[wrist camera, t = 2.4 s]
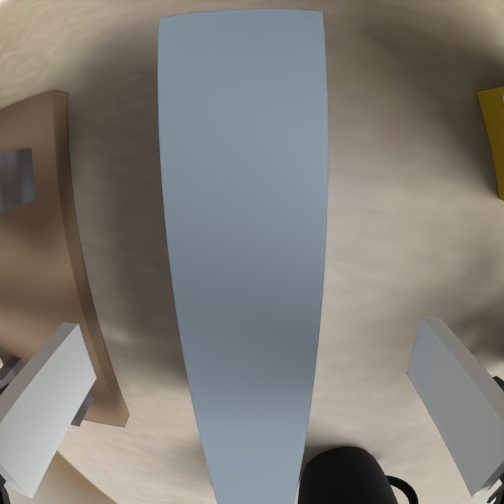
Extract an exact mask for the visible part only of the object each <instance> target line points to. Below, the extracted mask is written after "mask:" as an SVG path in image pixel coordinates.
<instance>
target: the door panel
mask: <svg viewBox="0 0 504 504" xmlns="http://www.w3.org/2000/svg"><path fill="white" fill-rule="evenodd" d="M158 117H159V143H160V162H161V178H162V191H163V204H164V215H165V226H166V236H167V245H168V254H169V263H170V271H171V279H172V286H173V294H174V301H175V308H176V314H177V321H178V327H179V333H180V340H181V345H182V351H183V357H184V363H185V368H186V373H187V379H188V384H189V389H190V394H191V399H192V404H193V408H194V413H195V418H196V422H197V427H198V431H199V435H200V440H201V444H202V448H203V452H204V456H205V460H206V464H207V468H208V472H209V476H210V479H211V483H212V487H213V490H214V494H215V497H216V501H217V504H294V501H295V496H296V491H297V486H298V481H299V475H300V470H301V464H302V458H303V453H304V447H305V441H306V434H307V428H308V421H309V414H310V407H311V400H312V392H313V385H314V377H315V368H316V359H317V350H318V341H319V331H320V320H321V308H322V296H323V282H324V267H325V250H326V229H327V201H328V98H327V71H326V52H325V36H324V23H323V11H312V10H295V9H238V10H221V11H209V12H199V13H190V14H182V15H175V16H168V17H162V18H159V31H158Z"/></svg>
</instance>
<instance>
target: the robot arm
mask: <svg viewBox="0 0 504 504" xmlns="http://www.w3.org/2000/svg"><path fill="white" fill-rule="evenodd" d="M407 375H408V377H409V378H410V380H411V382H412V383H413V385H414V387H415V389H416V390H417V392H418V394H419V396H420V398H421V399H422V401H423V403H424V405H425V406H426V408H427V410H428V412H429V414H430V416H431V417H432V419H433V421H434V423H435V425H436V427H437V428H438V430H439V432H440V434H441V436H442V438H443V440H444V442H445V444H446V446H447V448H448V449H449V451H450V453H451V455H452V457H453V459H454V461H455V463H456V465H457V467H458V469H459V471H460V473H461V475H462V477H463V480H464V482H465V484H466V486H467V488H468V490H469V492H470V494H471V497H474V496H476V495H478V494H480V493H482V492H485V491H487V490H489V489H490V488H491V487H492V486H493V485H494V484H495V483H496V482H497V480H498V479H499V478H500V480H501V482H502V485H501V486H500V487H499V488H498V489H497V490H496V491H495V492H494V493H493V494H492V495H491V496H490V497H489V499H488V501H487V503H490V502H491V501H492V500H493V499H494V498H495V497H496V496H497V497H496V500H495V502H494V503H493V504H504V381H503V380H502V379H500V378H499V377H497V376H495V377H491V375H490V374H489V373H488V372H487V371H486V369H485V368H484V367H483V366H482V365H481V364H480V362H479V361H478V360H477V359H476V358H475V357H474V355H473V354H472V353H471V352H470V351H469V350H468V348H467V347H466V346H465V345H464V344H463V343H462V342H461V341H460V339H459V338H458V337H457V336H456V335H455V334H454V333H453V332H452V331H451V329H450V328H449V327H448V326H447V325H446V324H445V323H444V322H443V321H442V320H441V319H440V318H439V317H438V315H437V316H429V317H421V322H420V326H419V330H418V334H417V338H416V342H415V346H414V350H413V353H412V357H411V360H410V364H409V367H408V371H407ZM95 380H96V375H95V372H94V370H93V367H92V364H91V361H90V358H89V355H88V352H87V349H86V346H85V343H84V340H83V337H82V333H81V330H80V327H79V324H77V323H65V322H63V323H62V325H61V326H60V327H59V328H58V329H57V330H56V331H55V332H54V333H53V334H52V335H51V337H50V338H49V339H48V340H47V341H46V342H45V343H44V344H43V345H42V347H41V348H40V349H39V350H38V351H37V352H36V353H35V355H34V356H33V357H32V358H31V359H30V360H29V361H28V363H27V364H26V365H25V366H24V367H23V369H22V370H21V371H20V372H19V373H18V374H17V376H16V377H15V378H14V379H13V380H12V382H11V383H10V384H7V385H5V386H4V387H2V388H1V389H0V504H10V500H9V496H8V493H7V490H6V489H5V487H4V484H5V482H6V481H7V483H8V484H9V485H10V486H11V487H12V488H13V489H14V490H15V491H17V492H19V493H21V494H23V495H25V496H28V497H29V498H33V496H34V494H35V492H36V490H37V488H38V486H39V484H40V481H41V479H42V477H43V475H44V473H45V471H46V469H47V467H48V465H49V464H50V462H51V459H52V458H53V456H54V454H55V452H56V450H57V448H58V446H59V444H60V442H61V440H62V439H63V437H64V435H65V433H66V431H67V429H68V427H69V426H70V424H71V422H72V420H73V418H74V417H75V415H76V413H77V411H78V409H79V408H80V406H81V404H82V402H83V401H84V399H85V397H86V395H87V394H88V392H89V390H90V388H91V387H92V385H93V383H94V382H95Z"/></svg>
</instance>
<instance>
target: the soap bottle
mask: <svg viewBox="0 0 504 504" xmlns="http://www.w3.org/2000/svg"><path fill="white" fill-rule="evenodd" d="M476 93H477V97H478V100H479V103H480V107H481V110H482V114H483V118H484V121H485V125H486V129H487V134H488V138H489V142H490V147H491V152H492V157H493V162H494V168H495V173H496V180H497V186H498V193H499V199H501V200H503V201H504V87H499V88H493V89H488V90H483V91H478V92H476Z"/></svg>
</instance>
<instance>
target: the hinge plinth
mask: <svg viewBox="0 0 504 504" xmlns="http://www.w3.org/2000/svg"><path fill="white" fill-rule="evenodd" d="M63 322H65V323H77V324H79V327H80V330H81V333H82V337H83V340H84V343H85V346H86V349H87V352H88V355H89V358H90V361H91V364H92V367H93V370H94V372H95V375H96V380H95V382H94V383H93V385H92V387H91V388H90V390H89V392H88V394H87V395H86V397H85V399H84V401H83V402H82V404H81V406H80V408H79V409H78V411H77V413H76V415H75V417H74V418H73V420H72V422H71V425H75V426H80V424H81V422H82V420H86V421H91V422H96V423H101V424H107V425H112V426H118V427H124V428H125V425H126V423H127V420H128V418H129V415H130V414H129V412H128V409H127V407H126V404H125V402H124V399H123V397H122V394H121V391H120V388H119V386H118V383H117V380H116V377H115V374H114V371H113V368H112V365H111V362H110V359H109V356H108V353H107V350H106V347H105V343H104V340H103V337H102V333H101V330H100V326H99V323H98V319H97V315H96V312H95V308H94V304H93V300H92V296H91V292H90V287H89V283H88V279H87V274H86V269H85V265H84V260H83V254H82V249H81V244H80V238H79V232H78V226H77V220H76V213H75V205H74V198H73V189H72V180H71V170H70V158H69V143H68V119H67V93H66V92H60V91H54V90H53V91H50V92H47V93H44V94H41V95H38V96H35V97H32V98H29V99H26V100H23V101H21V102H18V103H15V104H13V105H10V106H7V107H5V108H2V109H0V358H1V360H2V362H3V364H4V365H3V367H2V368H1V369H0V389H1V388H2V387H4V386H5V385H7V384H10V383H11V382H12V380H13V379H14V378H15V377H16V376H17V374H18V373H19V372H20V371H21V370H22V369H23V367H24V366H25V365H26V364H27V363H28V361H29V360H30V359H31V358H32V357H33V356H34V355H35V353H36V352H37V351H38V350H39V349H40V348H41V347H42V345H43V344H44V343H45V342H46V341H47V340H48V339H49V338H50V337H51V335H52V334H53V333H54V332H55V331H56V330H57V329H58V328H59V327H60V326H61V325H62V323H63Z"/></svg>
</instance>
